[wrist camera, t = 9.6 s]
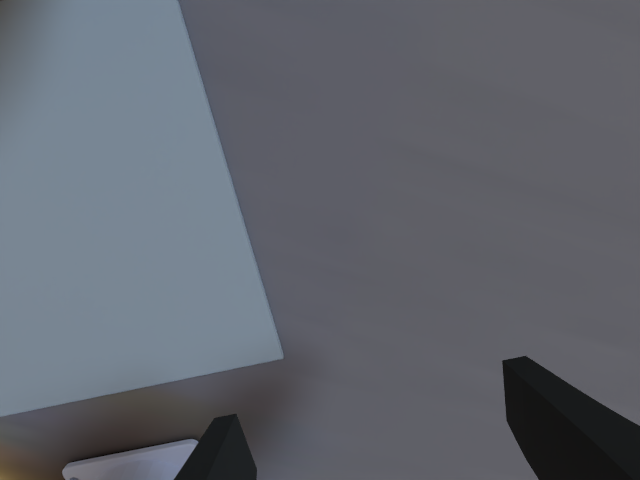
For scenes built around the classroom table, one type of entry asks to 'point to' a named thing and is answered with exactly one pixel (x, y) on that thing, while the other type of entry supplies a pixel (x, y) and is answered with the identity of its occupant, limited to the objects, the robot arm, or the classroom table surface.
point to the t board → (115, 209)
